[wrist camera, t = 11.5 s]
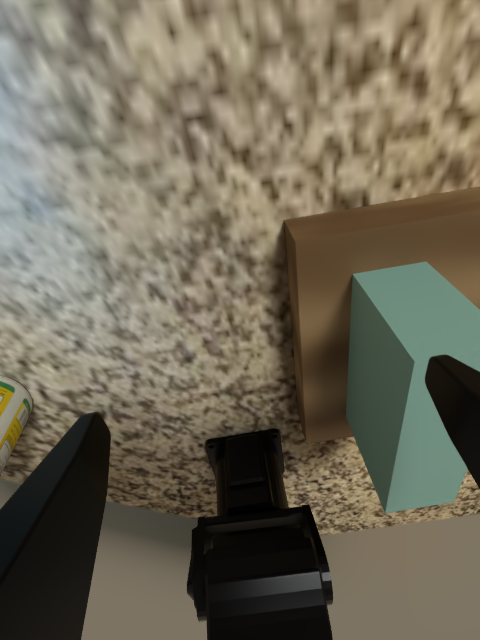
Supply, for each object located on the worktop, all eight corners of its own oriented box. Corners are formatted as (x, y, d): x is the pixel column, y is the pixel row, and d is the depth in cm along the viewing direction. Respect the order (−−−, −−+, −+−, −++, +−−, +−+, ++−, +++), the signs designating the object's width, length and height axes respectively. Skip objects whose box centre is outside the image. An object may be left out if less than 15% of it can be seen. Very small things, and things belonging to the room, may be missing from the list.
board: (510, 378, 30) (537, 406, 28) (298, 413, 31) (306, 444, 28) (600, 165, 20) (654, 180, 18) (284, 220, 21) (295, 241, 18)
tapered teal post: (399, 407, 27) (453, 501, 21) (345, 416, 27) (385, 513, 21) (426, 261, 20) (518, 344, 14) (352, 273, 20) (414, 361, 14)
